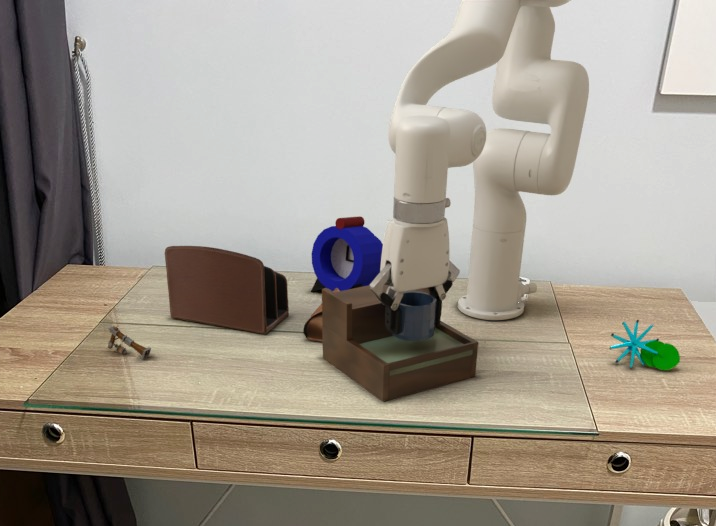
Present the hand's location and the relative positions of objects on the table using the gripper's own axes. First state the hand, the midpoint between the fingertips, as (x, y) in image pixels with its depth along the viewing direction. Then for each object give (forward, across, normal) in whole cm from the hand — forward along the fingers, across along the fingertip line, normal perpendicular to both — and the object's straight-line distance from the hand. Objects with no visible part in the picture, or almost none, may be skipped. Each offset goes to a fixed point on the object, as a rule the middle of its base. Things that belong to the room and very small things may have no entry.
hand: (412, 326), depth 136 cm
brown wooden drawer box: (+9, 0, -4) cm, 9 cm away
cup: (+1, 0, 0) cm, 1 cm away
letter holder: (+9, +15, -38) cm, 42 cm away
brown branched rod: (+9, +37, -31) cm, 49 cm away
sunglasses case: (+9, -1, -25) cm, 27 cm away
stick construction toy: (+9, -37, +15) cm, 41 cm away
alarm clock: (+9, -12, -39) cm, 42 cm away
